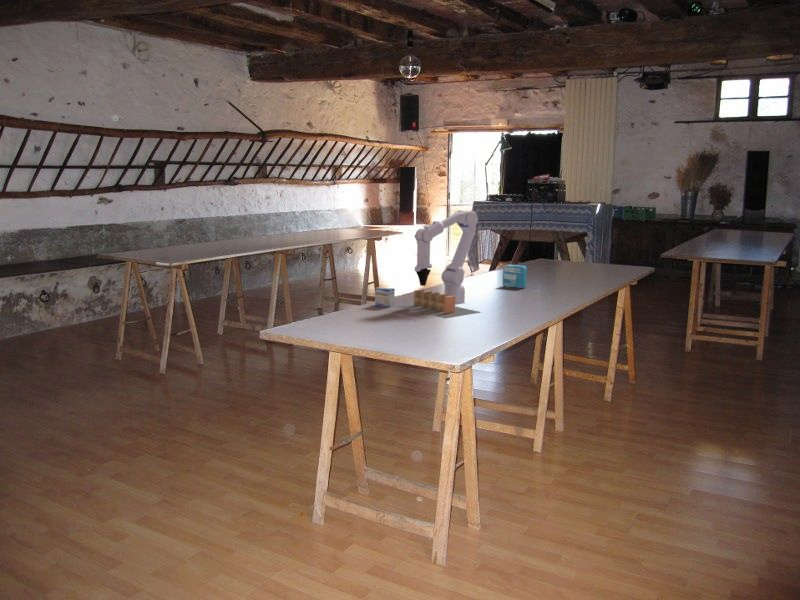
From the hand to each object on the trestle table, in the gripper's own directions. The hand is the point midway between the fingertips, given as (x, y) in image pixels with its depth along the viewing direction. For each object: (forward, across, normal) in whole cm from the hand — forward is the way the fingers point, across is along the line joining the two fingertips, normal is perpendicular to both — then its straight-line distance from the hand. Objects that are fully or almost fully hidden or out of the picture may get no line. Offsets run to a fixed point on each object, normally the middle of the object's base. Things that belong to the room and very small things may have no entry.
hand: (422, 285), depth 310 cm
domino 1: (+10, +1, +2) cm, 10 cm away
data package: (+10, +77, -21) cm, 81 cm away
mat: (+10, -3, -9) cm, 14 cm away
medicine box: (+10, -7, +16) cm, 20 cm away
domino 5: (+10, -7, -16) cm, 20 cm away
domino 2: (+10, -1, -2) cm, 10 cm away
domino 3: (+10, -3, -7) cm, 12 cm away
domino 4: (+10, -5, -12) cm, 16 cm away
